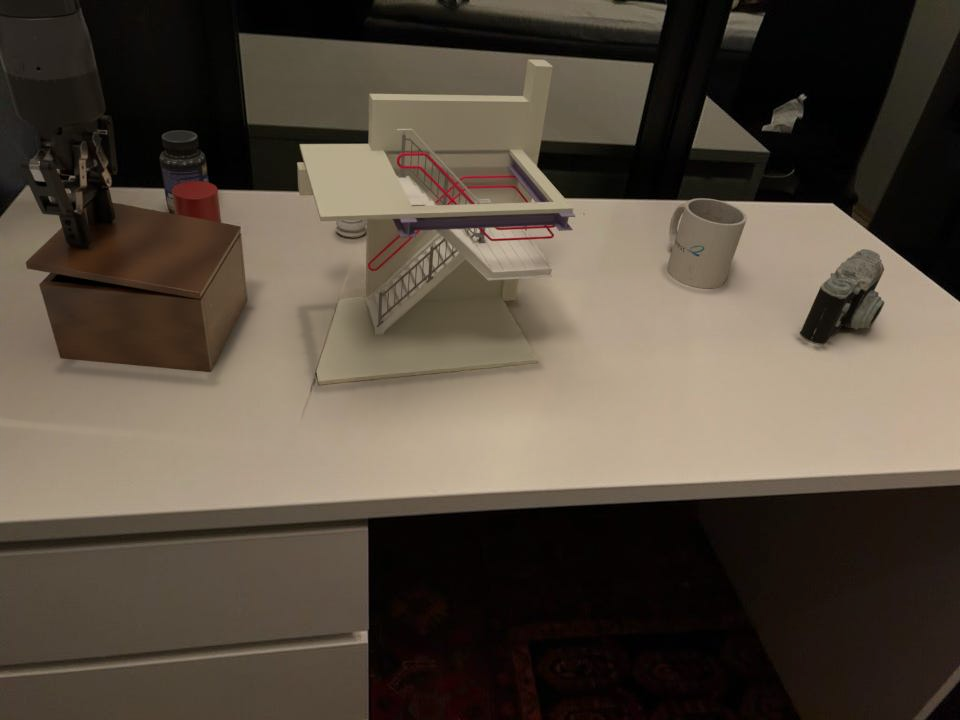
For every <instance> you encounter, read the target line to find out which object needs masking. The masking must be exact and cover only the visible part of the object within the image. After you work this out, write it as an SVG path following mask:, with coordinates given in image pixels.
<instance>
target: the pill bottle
mask: <svg viewBox="0 0 960 720" xmlns="http://www.w3.org/2000/svg"><path fill="white" fill-rule="evenodd" d="M161 143H162V146H163V148H164V150H163V151H162V152H161V153H160V155H159V165H160V170H161V176H162V177H161V178H162V183H163V190H164V195H165V201H166V207H167V210H168V211H169V213H172V214H175V208H174V201H173V195H172V189H173V187H175V186H176V185H178V184H180V183H184V182H189V181H203V182H208V183H210V182H209V174H208V167H207V159H206V155H205V153H204V152H203V151H202V150H201V149H199V148H198V147H199V143H200V142H199V137H198V134H197V133H195V132H194V131H190V130H182V129H179V130H170V131H167V132H164V133H162V135H161Z"/></svg>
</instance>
